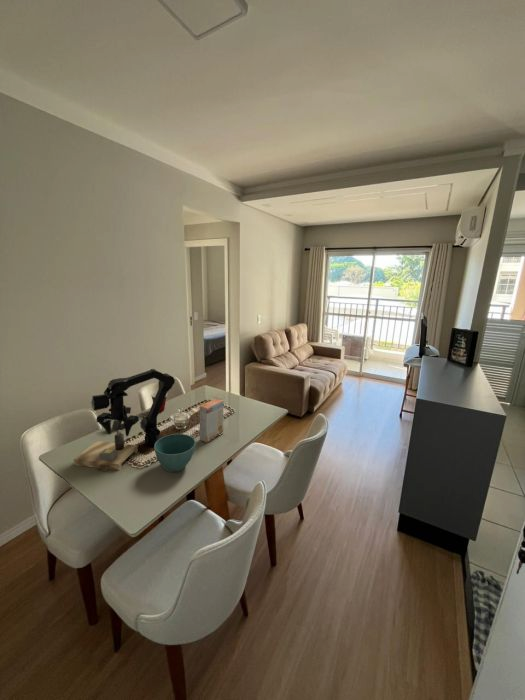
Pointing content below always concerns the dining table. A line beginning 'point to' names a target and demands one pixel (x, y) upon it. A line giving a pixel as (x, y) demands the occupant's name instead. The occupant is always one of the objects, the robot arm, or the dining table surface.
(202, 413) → the cracker box
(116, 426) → the phone stand
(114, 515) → the dining table surface
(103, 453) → the stud finder
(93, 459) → the wooden board
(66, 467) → the dining table surface
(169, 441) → the teal bowl
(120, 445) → the bottle
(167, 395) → the plastic cup
